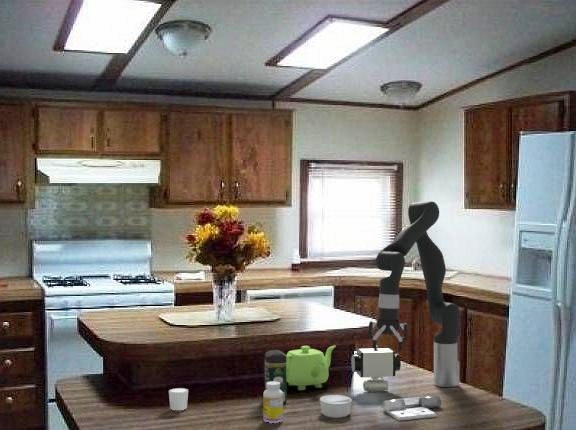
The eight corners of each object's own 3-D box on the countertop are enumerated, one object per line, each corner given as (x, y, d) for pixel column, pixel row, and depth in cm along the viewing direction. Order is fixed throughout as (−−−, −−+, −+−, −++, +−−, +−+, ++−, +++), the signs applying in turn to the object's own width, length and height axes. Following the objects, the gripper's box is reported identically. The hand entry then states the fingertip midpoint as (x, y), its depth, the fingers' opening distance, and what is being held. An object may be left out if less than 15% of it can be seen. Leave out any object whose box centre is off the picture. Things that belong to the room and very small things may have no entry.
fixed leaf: (425, 399, 263) (425, 388, 263) (442, 408, 251) (442, 397, 251) (390, 402, 258) (390, 392, 258) (405, 412, 247) (405, 400, 247)
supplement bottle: (262, 418, 240) (262, 380, 240) (282, 417, 240) (282, 380, 240) (263, 424, 233) (263, 385, 233) (283, 423, 234) (283, 385, 234)
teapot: (297, 397, 266) (297, 355, 266) (272, 384, 285) (272, 345, 285) (353, 389, 278) (353, 349, 278) (325, 377, 297) (325, 339, 297)
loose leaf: (418, 407, 253) (418, 395, 253) (435, 416, 241) (435, 405, 241) (382, 410, 248) (382, 399, 248) (398, 420, 237) (398, 408, 237)
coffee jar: (263, 398, 265) (263, 348, 265) (283, 396, 267) (283, 347, 266) (267, 405, 256) (267, 354, 255) (288, 404, 257) (288, 353, 257)
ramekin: (342, 421, 237) (342, 405, 237) (313, 415, 243) (313, 400, 243) (357, 412, 247) (357, 397, 247) (329, 407, 253) (329, 393, 253)
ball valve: (395, 387, 280) (395, 343, 280) (401, 393, 272) (401, 347, 272) (350, 389, 278) (350, 344, 278) (355, 394, 270) (355, 348, 269)
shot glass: (191, 408, 252) (191, 388, 252) (182, 413, 246) (182, 393, 245) (174, 406, 254) (174, 387, 254) (165, 411, 248) (165, 391, 248)
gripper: (408, 306, 260) (407, 350, 259) (369, 304, 262) (368, 348, 262) (408, 308, 252) (407, 354, 252) (368, 306, 255) (367, 351, 255)
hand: (387, 351), depth 257 cm, fingers open, 8 cm apart
